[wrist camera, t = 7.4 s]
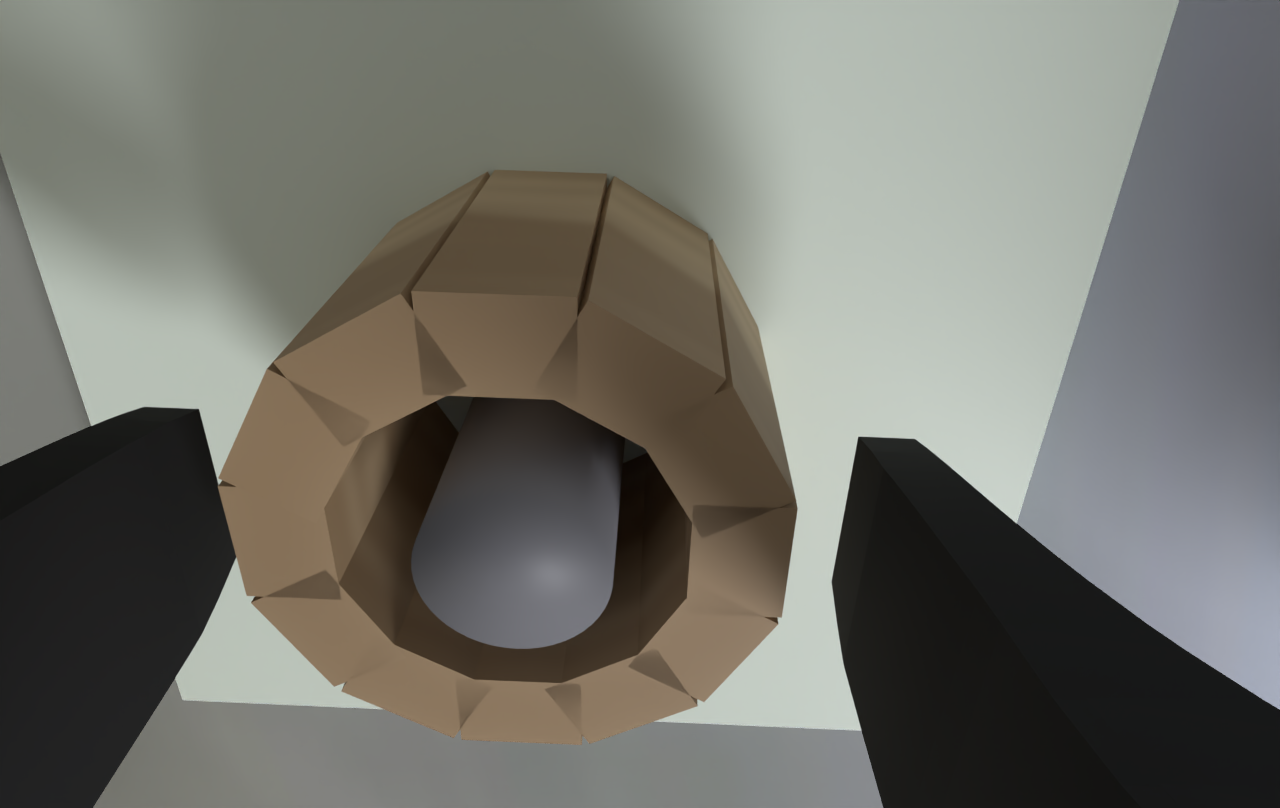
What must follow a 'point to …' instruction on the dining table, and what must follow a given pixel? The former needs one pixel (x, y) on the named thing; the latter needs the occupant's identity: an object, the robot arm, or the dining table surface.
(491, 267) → the bead
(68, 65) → the white board with peg
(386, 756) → the dining table surface
